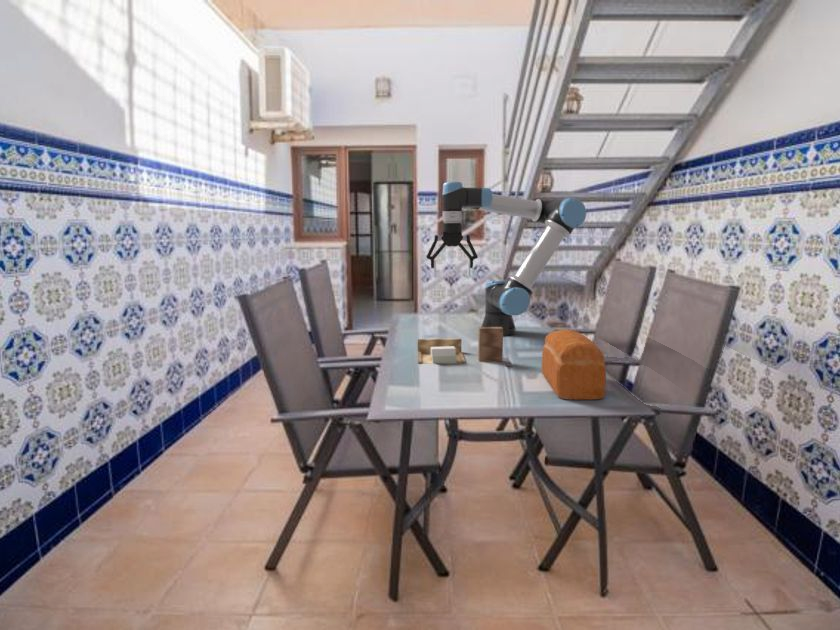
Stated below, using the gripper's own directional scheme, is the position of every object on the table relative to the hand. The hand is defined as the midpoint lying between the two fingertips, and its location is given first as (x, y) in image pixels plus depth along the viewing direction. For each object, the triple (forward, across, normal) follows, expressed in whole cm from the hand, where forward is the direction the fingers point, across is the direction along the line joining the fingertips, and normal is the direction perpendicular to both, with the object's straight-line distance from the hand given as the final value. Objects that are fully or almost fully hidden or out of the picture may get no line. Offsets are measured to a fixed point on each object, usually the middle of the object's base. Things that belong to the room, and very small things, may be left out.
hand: (451, 276), depth 214 cm
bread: (+27, +31, -60) cm, 73 cm away
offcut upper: (+23, -6, -35) cm, 42 cm away
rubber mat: (+27, +11, -33) cm, 44 cm away
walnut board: (+26, +11, -33) cm, 44 cm away
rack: (+27, -6, -29) cm, 40 cm away
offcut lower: (+26, -5, -35) cm, 44 cm away
